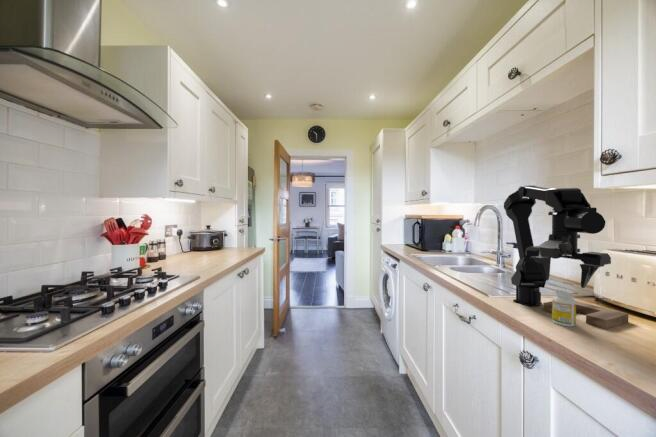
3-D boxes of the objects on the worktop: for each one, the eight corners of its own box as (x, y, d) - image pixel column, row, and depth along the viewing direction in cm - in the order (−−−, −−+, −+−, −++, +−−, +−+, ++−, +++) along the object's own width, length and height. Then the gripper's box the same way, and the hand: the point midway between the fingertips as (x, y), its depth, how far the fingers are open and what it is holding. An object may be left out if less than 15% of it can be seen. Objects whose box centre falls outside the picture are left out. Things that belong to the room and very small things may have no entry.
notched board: (543, 310, 92) (543, 303, 92) (565, 305, 97) (565, 298, 97) (605, 329, 78) (606, 320, 78) (628, 322, 82) (628, 313, 82)
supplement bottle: (564, 327, 79) (564, 294, 79) (547, 320, 84) (547, 288, 84) (581, 326, 80) (581, 293, 79) (563, 319, 85) (563, 288, 85)
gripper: (514, 230, 87) (513, 279, 87) (588, 234, 70) (587, 296, 70) (537, 228, 91) (536, 276, 92) (612, 232, 74) (611, 291, 74)
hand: (563, 283), depth 82 cm, fingers open, 9 cm apart
